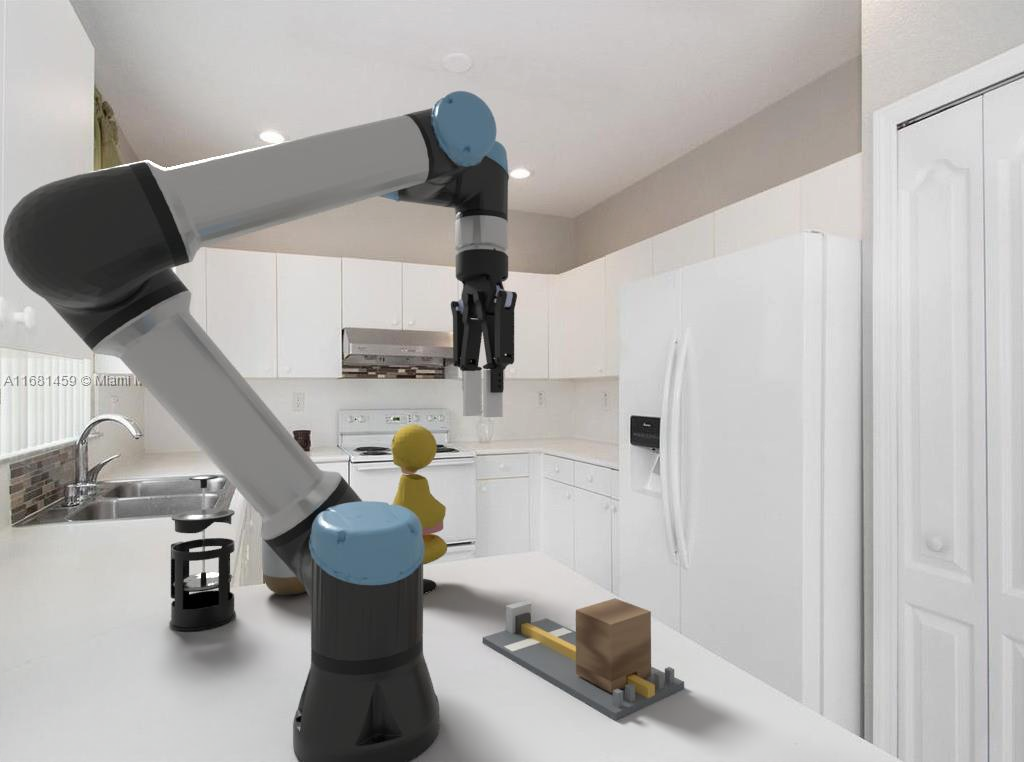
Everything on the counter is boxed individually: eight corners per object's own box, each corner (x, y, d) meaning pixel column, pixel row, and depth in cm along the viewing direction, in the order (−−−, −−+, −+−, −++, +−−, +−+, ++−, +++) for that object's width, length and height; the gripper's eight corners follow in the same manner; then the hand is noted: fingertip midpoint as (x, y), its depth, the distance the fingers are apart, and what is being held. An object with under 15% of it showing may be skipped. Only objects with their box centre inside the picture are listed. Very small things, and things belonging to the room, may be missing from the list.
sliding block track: (684, 688, 74) (684, 651, 74) (615, 720, 67) (615, 680, 67) (546, 623, 95) (546, 595, 95) (482, 642, 88) (482, 612, 88)
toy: (389, 572, 122) (389, 422, 122) (451, 572, 122) (450, 421, 123) (372, 599, 106) (372, 427, 107) (443, 598, 107) (442, 426, 107)
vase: (304, 604, 104) (304, 491, 104) (248, 600, 106) (248, 489, 107) (334, 584, 114) (334, 482, 115) (283, 581, 117) (283, 480, 117)
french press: (252, 615, 99) (252, 473, 100) (202, 636, 91) (202, 481, 91) (199, 605, 104) (200, 469, 104) (147, 625, 95) (148, 477, 96)
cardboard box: (651, 675, 75) (650, 611, 75) (611, 692, 71) (610, 624, 71) (615, 658, 80) (615, 598, 80) (576, 673, 76) (575, 609, 76)
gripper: (541, 244, 82) (542, 417, 82) (470, 265, 97) (471, 413, 96) (496, 236, 78) (496, 419, 78) (428, 260, 92) (429, 415, 92)
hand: (482, 415), depth 87 cm, fingers open, 4 cm apart
